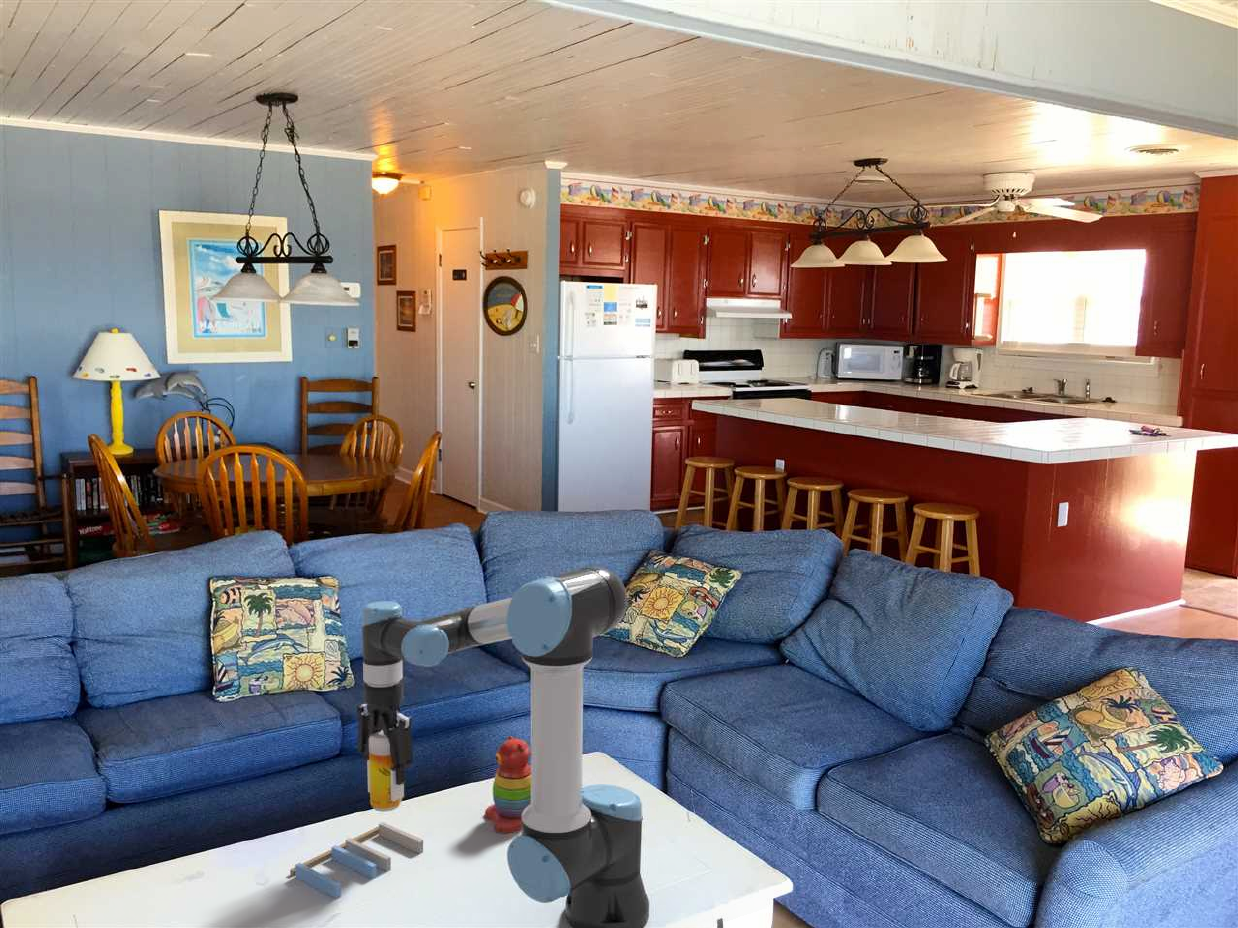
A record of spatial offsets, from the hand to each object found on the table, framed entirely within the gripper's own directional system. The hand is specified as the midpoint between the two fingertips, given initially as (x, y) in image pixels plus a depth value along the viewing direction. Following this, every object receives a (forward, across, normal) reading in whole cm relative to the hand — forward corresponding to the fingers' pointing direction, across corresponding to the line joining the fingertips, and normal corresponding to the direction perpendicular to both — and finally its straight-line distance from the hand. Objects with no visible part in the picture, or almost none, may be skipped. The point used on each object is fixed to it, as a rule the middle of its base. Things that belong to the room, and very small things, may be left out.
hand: (385, 793), depth 200 cm
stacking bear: (+13, -10, -26) cm, 31 cm away
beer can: (+3, 0, 0) cm, 3 cm away
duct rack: (+12, +1, +6) cm, 14 cm away
